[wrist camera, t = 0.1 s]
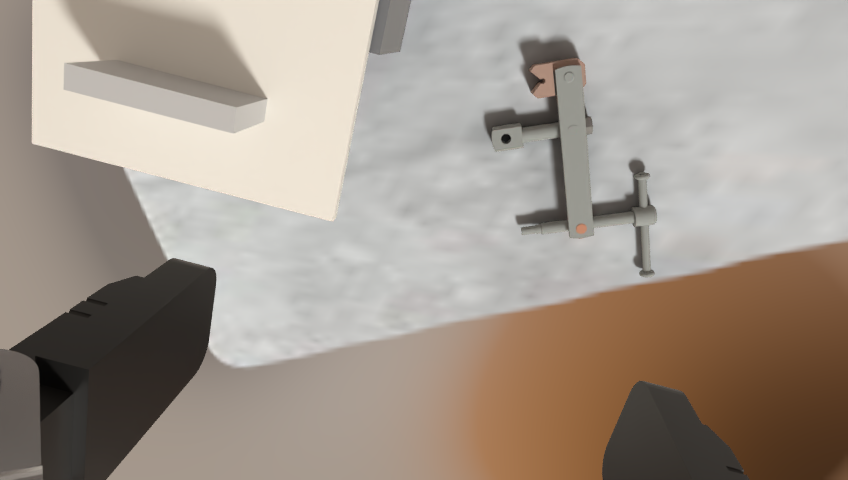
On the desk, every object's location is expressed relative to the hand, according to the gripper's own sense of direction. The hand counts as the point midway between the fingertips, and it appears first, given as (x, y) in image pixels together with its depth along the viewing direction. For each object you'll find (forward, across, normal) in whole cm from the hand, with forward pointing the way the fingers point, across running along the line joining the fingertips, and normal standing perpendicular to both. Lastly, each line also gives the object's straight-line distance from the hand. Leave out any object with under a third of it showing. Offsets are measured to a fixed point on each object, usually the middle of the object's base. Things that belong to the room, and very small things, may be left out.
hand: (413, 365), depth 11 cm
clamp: (+30, -8, +1) cm, 31 cm away
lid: (+21, +14, -3) cm, 25 cm away
